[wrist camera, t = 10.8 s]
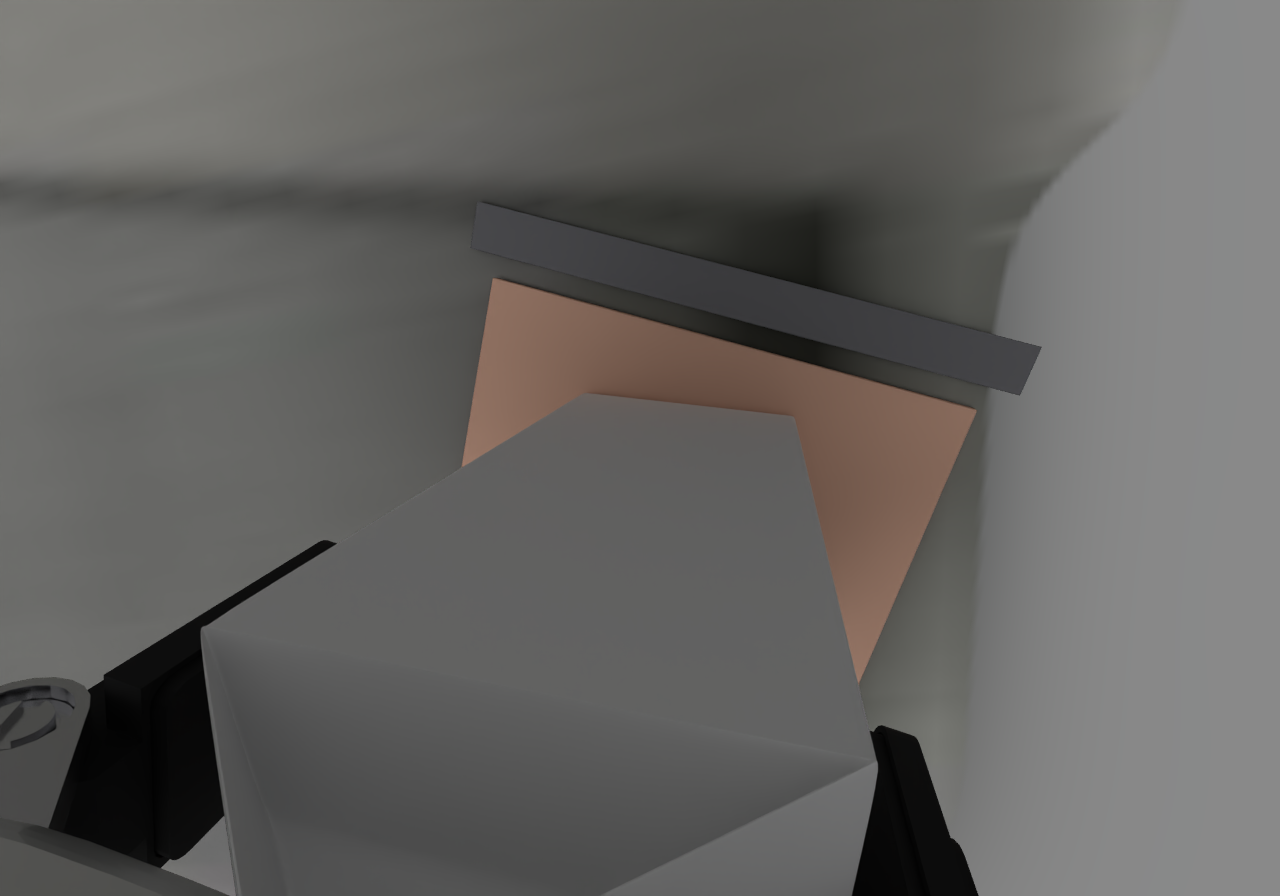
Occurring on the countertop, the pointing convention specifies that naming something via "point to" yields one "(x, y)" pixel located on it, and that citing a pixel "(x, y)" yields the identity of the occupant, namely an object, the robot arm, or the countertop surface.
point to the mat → (742, 380)
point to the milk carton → (557, 679)
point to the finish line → (757, 299)
